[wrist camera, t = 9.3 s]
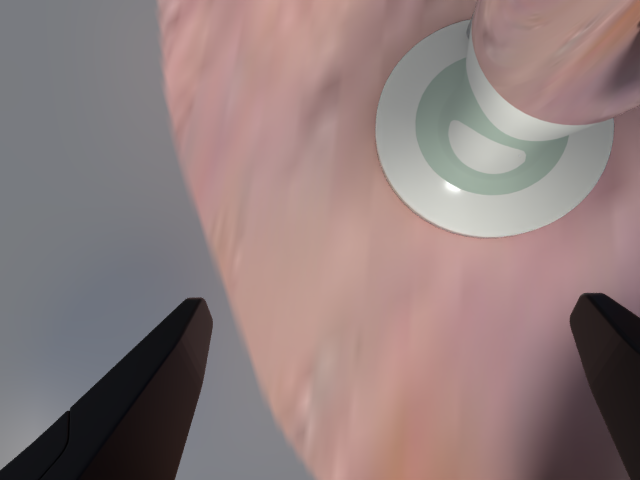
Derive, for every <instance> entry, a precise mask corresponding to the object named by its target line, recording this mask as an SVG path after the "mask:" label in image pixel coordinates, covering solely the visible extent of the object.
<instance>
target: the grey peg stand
mask: <svg viewBox="0 0 640 480" xmlns="http://www.w3.org/2000/svg"><path fill="white" fill-rule="evenodd" d="M474 11H475V10H474ZM473 15H474V13H473ZM473 15H472V18H471V20H465V21H462V22H458V23H455V24H452V25H449V26H447V27H445V28H442V29H440V30H438V31H436V32H434V33H433V34H431V35H429V36H428V37H426V38H424V39H423V40H422V41H420V42H419V43H418V44H416V45H415V46H414V47H413V48H412V49H411V50H410V51H409V52H408V53H407V54H406V55H405V56H403V58H402V59H401V60H400V61H399V63H398V64H397V65H396V66H395V68H394V69H393V71H392V73H391V74H390V76H389V78H388V79H387V81H386V84H385V86H384V88H383V91H382V93H381V96H380V100H379V104H378V108H377V116H376V127H375V142H376V149H377V155H378V159H379V162H380V166H381V169H382V171H383V173H384V175H385V178H386V180H387V182H388V183H389V185H390V186H391V188H392V190H393V191H394V193H395V194H396V195H397V196H398V198H399V199H400V200H401V201H402V202H403V203H404V204H405V205H406V206H407V207H408V208H409V209H410V210H411V211H412V212H413V213H415V214H416V215H417V216H419V217H420V218H422V219H423V220H424V221H426V222H428V223H430V224H432V225H434V226H435V227H437V228H440V229H442V230H445V231H448V232H450V233H454V234H457V235H461V236H465V237H473V238H502V237H510V236H514V235H518V234H522V233H526V232H529V231H532V230H535V229H538V228H540V227H543V226H545V225H548V224H550V223H552V222H554V221H555V220H557V219H559V218H561V217H563V216H564V215H565V214H567V213H568V212H569V211H571V210H572V209H573V208H575V207H576V206H577V205H578V204H579V203H580V202H581V201H582V200H583V199H584V198H585V197H586V196H587V195H588V194H589V193H590V191H591V190H592V189H593V187H594V186H595V185H596V183H597V182H598V180H599V178H600V176H601V175H602V173H603V171H604V169H605V166H606V164H607V161H608V159H609V156H610V152H611V148H612V143H613V134H614V119H613V118H612V119H609V120H607V121H605V122H602V123H599V124H597V125H594V126H592V127H589V128H586V129H584V130H581V131H579V132H576V133H573V134H570V135H568V136H565V137H562V138H560V139H558V140H555V141H553V142H552V143H551V144H550V145H549V147H548V148H547V150H546V151H545V153H544V154H543V156H542V157H541V158H540V160H539V161H538V162H537V163H536V164H535V165H533V166H532V167H531V168H530V169H528V170H527V171H525V172H524V173H522V174H520V175H518V176H515V177H513V178H509V179H505V180H498V181H487V180H481V179H477V178H473V177H471V176H468V175H466V174H464V173H463V172H461V171H459V170H458V169H457V168H455V167H454V166H453V165H452V164H451V163H450V162H449V160H448V159H447V158H446V156H445V155H444V153H443V151H442V149H441V147H440V144H439V140H438V135H437V122H438V117H439V114H440V111H441V108H442V106H443V104H444V103H445V101H446V99H447V98H448V97H449V95H450V94H451V93H452V92H453V91H454V90H455V89H456V88H457V87H458V86H459V85H460V84H461V82H462V81H463V78H464V72H465V65H466V56H467V49H468V42H469V35H470V29H471V24H472V20H473Z"/></svg>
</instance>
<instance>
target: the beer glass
mask: <svg viewBox="0 0 640 480" xmlns="http://www.w3.org/2000/svg"><path fill="white" fill-rule="evenodd" d="M638 106H640V0H477V2H476V6H475V11H474V15H473V20H472V24H471V29H470V35H469V42H468V49H467V56H466V65H465V72H464V78H463V81H462V82H461V84H460V85H459V86H458V87H457V88H456V89H455V90H454V91H453V92H452V93H451V94H450V95H449V97H448V98H447V99H446V101H445V103H444V104H443V106H442V108H441V111H440V114H439V117H438V122H437V135H438V140H439V144H440V147H441V149H442V151H443V153H444V155H445V156H446V158H447V159H448V160H449V162H450V163H451V164H452V165H453V166H454V167H455V168H457V169H458V170H459V171H461V172H463V173H464V174H466V175H468V176H471V177H473V178H477V179H481V180H487V181H498V180H505V179H509V178H513V177H515V176H518V175H520V174H522V173H524V172H525V171H527V170H528V169H530V168H531V167H532V166H533V165H535V164H536V163H537V162H538V161H539V160H540V158H541V157H542V156H543V154H544V153H545V151H546V150H547V148H548V147H549V145H550V144H551V143H552V142H553V141H555V140H558V139H560V138H562V137H565V136H568V135H570V134H573V133H576V132H579V131H581V130H584V129H586V128H589V127H592V126H594V125H597V124H599V123H602V122H605V121H607V120H609V119H612V118H614V117H616V116H618V115H620V114H622V113H625V112H627V111H629V110H631V109H633V108H635V107H638Z"/></svg>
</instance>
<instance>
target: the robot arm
mask: <svg viewBox="0 0 640 480" xmlns="http://www.w3.org/2000/svg"><path fill="white" fill-rule="evenodd" d="M570 326H571V330H572V333H573V336H574V339H575V343H576V346H577V349H578V352H579V355H580V358H581V362H582V365H583V368H584V371H585V374H586V378H587V380H588V383H589V386H590V389H591V391H592V393H593V396H594V398H595V400H596V403H597V405H598V407H599V409H600V412H601V414H602V416H603V419H604V421H605V423H606V425H607V428H608V430H609V432H610V434H611V437H612V439H613V441H614V443H615V446H616V448H617V450H618V452H619V455H620V457H621V459H622V461H623V464H624V466H625V468H626V470H627V473H628V475H629V477H630V480H640V318H639V317H638V316H637V315H635V314H634V313H632V312H631V311H629V310H628V309H626V308H625V307H623V306H622V305H620V304H619V303H617V302H616V301H614V300H613V299H611V298H610V297H608V296H607V295H605V294H603V293H584V294H582V295H581V296H580V297H579V299H578V301H577V303H576V305H575V307H574V309H573V311H572V313H571V316H570ZM212 328H213V321H212V317H211V314H210V311H209V309H208V306H207V304H206V301H205V300H204V299H203V298H187V299H185V300H184V301H183V302H182V303H181V304H180V305H179V306H178V307H177V308H176V309H175V310H174V311H172V312H171V313H170V314H169V315H168V316H167V317H166V318H165V319H164V320H163V321H162V322H161V323H160V324H159V325H158V326H157V327H155V328H154V329H153V330H152V331H151V332H150V333H149V334H148V335H147V336H146V337H145V338H144V339H143V340H142V341H141V342H140V343H139V344H138V345H137V346H135V347H134V348H133V349H132V350H131V351H130V352H129V353H128V354H127V355H126V356H125V357H124V358H123V359H122V360H121V361H119V362H118V363H117V364H116V365H115V366H114V367H113V368H112V369H111V370H110V371H109V372H108V373H107V374H106V375H105V376H104V377H103V378H102V379H100V380H99V381H98V382H97V383H96V384H95V385H94V386H93V387H92V388H91V389H90V390H89V391H88V392H87V393H86V394H85V395H83V396H82V397H81V398H80V399H79V400H78V401H77V402H76V403H75V404H74V405H73V406H72V407H71V408H70V411H66V412H65V413H64V414H63V415H62V416H61V417H60V418H59V419H58V420H57V421H56V422H55V423H54V424H53V425H51V426H50V427H49V428H48V429H47V430H46V431H45V432H44V433H43V434H42V435H40V436H39V437H38V438H37V439H36V440H35V441H34V442H33V443H32V444H31V445H30V446H29V447H27V448H26V449H25V450H24V451H22V452H21V453H20V454H19V455H18V456H17V457H15V458H14V459H13V460H12V461H11V462H10V463H8V464H7V465H6V466H5V467H4V468H3V469H1V470H0V480H175V477H176V474H177V470H178V467H179V464H180V460H181V457H182V453H183V450H184V446H185V443H186V440H187V436H188V433H189V429H190V426H191V422H192V419H193V416H194V412H195V409H196V405H197V401H198V398H199V395H200V392H201V387H202V384H203V379H204V374H205V368H206V363H207V356H208V351H209V345H210V340H211V334H212Z"/></svg>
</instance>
